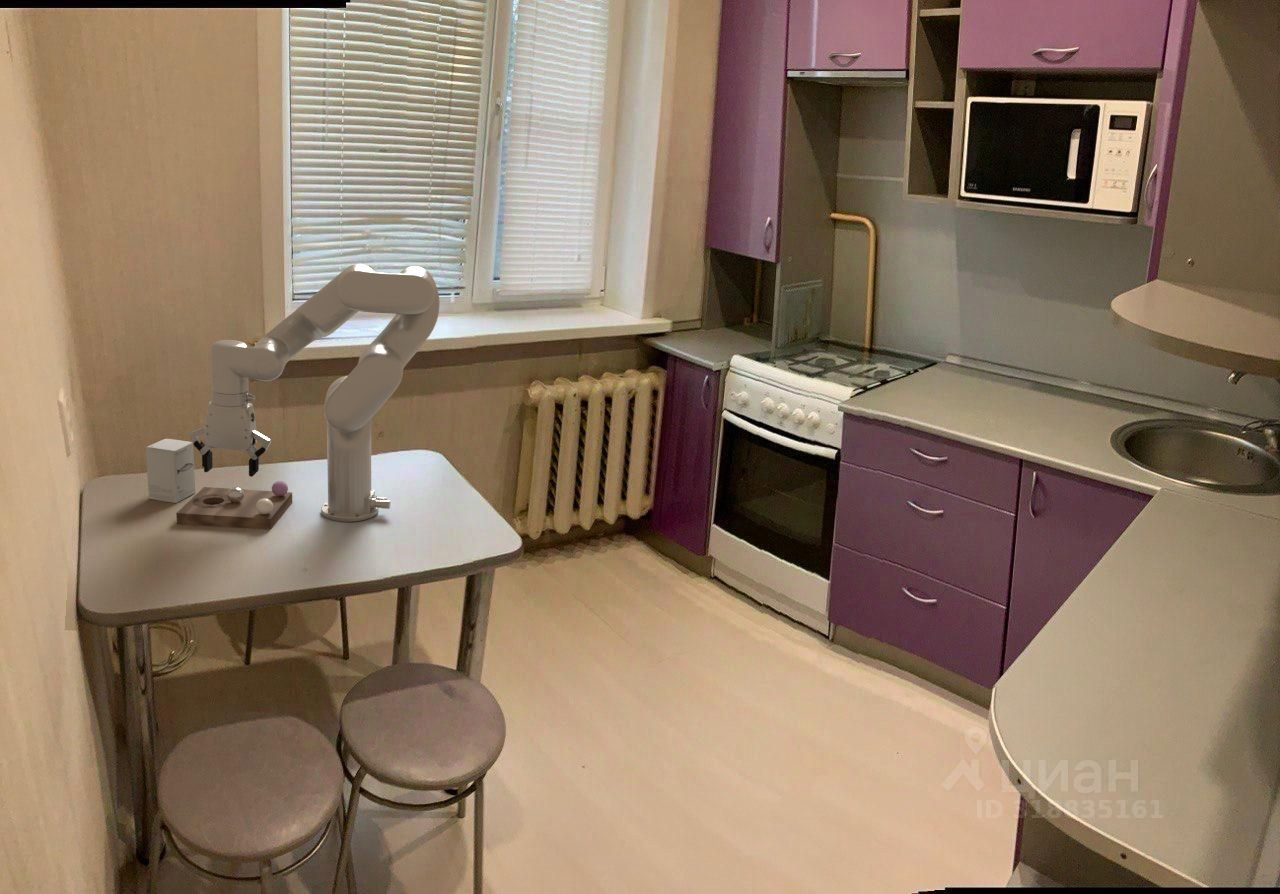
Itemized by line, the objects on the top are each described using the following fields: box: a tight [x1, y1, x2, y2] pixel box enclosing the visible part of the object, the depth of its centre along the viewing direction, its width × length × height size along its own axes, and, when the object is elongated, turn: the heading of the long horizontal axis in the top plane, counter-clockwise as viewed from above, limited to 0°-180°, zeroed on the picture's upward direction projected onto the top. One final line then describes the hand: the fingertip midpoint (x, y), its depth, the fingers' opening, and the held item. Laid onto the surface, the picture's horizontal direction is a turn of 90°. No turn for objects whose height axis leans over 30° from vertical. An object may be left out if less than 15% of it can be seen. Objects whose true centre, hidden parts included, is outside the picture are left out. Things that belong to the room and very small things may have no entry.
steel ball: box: [227, 486, 244, 503], centre depth 231 cm, size 4×4×4 cm
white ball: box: [256, 498, 273, 514], centre depth 226 cm, size 4×4×4 cm
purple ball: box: [271, 480, 289, 496], centre depth 236 cm, size 4×4×4 cm
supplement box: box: [145, 438, 196, 504], centre depth 236 cm, size 7×7×13 cm
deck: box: [176, 486, 293, 530], centre depth 232 cm, size 20×16×2 cm
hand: (230, 472), depth 229 cm, fingers open, 9 cm apart
